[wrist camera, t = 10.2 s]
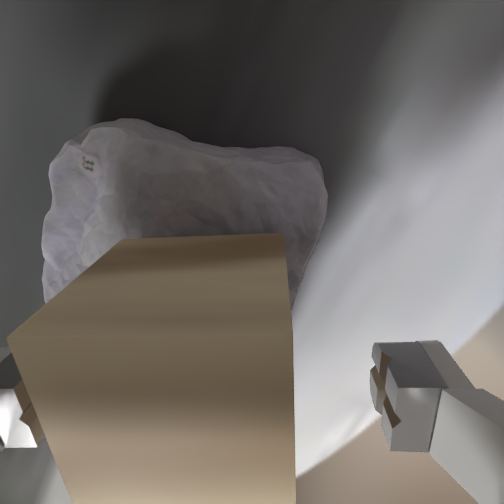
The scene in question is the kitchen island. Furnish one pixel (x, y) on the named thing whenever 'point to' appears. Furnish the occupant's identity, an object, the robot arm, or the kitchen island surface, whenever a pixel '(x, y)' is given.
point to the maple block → (169, 373)
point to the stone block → (174, 196)
